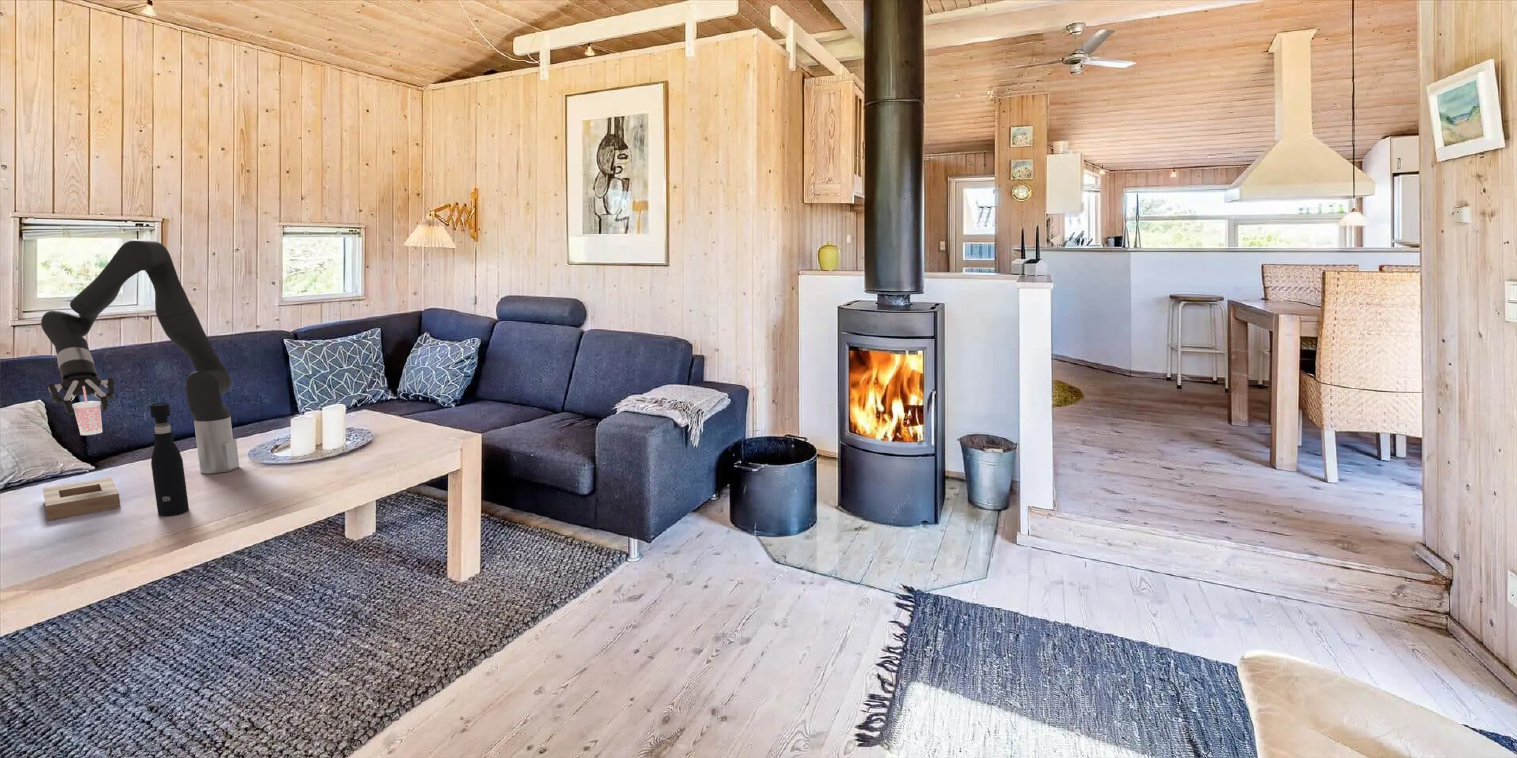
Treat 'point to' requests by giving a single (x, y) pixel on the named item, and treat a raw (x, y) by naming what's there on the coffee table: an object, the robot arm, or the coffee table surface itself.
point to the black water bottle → (167, 466)
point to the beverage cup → (88, 416)
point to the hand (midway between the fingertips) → (88, 411)
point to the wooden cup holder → (80, 498)
